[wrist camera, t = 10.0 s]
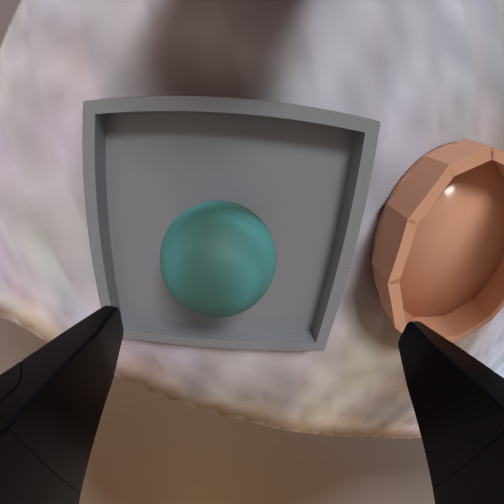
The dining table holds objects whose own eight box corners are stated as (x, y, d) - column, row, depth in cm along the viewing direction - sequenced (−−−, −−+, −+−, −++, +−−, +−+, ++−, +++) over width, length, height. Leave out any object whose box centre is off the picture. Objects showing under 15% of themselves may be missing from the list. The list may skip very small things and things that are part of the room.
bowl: (527, 169, 17) (552, 181, 14) (475, 316, 23) (492, 336, 20) (398, 115, 15) (427, 119, 12) (347, 321, 22) (360, 351, 19)
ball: (275, 191, 17) (294, 232, 12) (263, 280, 20) (274, 344, 14) (171, 184, 16) (142, 222, 11) (172, 274, 19) (153, 337, 14)
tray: (365, 119, 16) (380, 121, 14) (318, 333, 23) (323, 350, 21) (98, 101, 14) (83, 101, 13) (116, 319, 21) (108, 335, 20)
